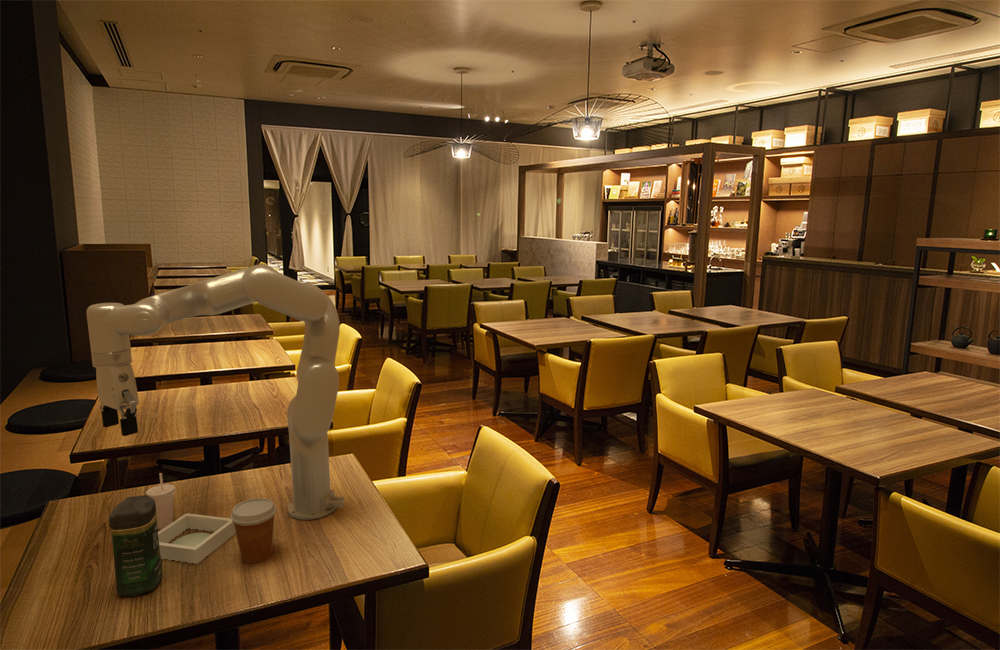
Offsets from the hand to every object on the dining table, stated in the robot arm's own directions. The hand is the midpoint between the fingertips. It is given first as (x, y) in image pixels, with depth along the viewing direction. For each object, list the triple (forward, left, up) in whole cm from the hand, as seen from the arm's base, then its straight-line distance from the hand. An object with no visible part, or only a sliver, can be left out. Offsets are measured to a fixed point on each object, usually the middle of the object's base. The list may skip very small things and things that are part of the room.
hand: (120, 429), depth 137 cm
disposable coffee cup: (-33, -1, -28) cm, 43 cm away
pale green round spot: (-15, -2, -28) cm, 32 cm away
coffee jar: (-15, +14, -28) cm, 35 cm away
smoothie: (-2, -8, -28) cm, 29 cm away
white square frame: (-15, -2, -28) cm, 32 cm away
